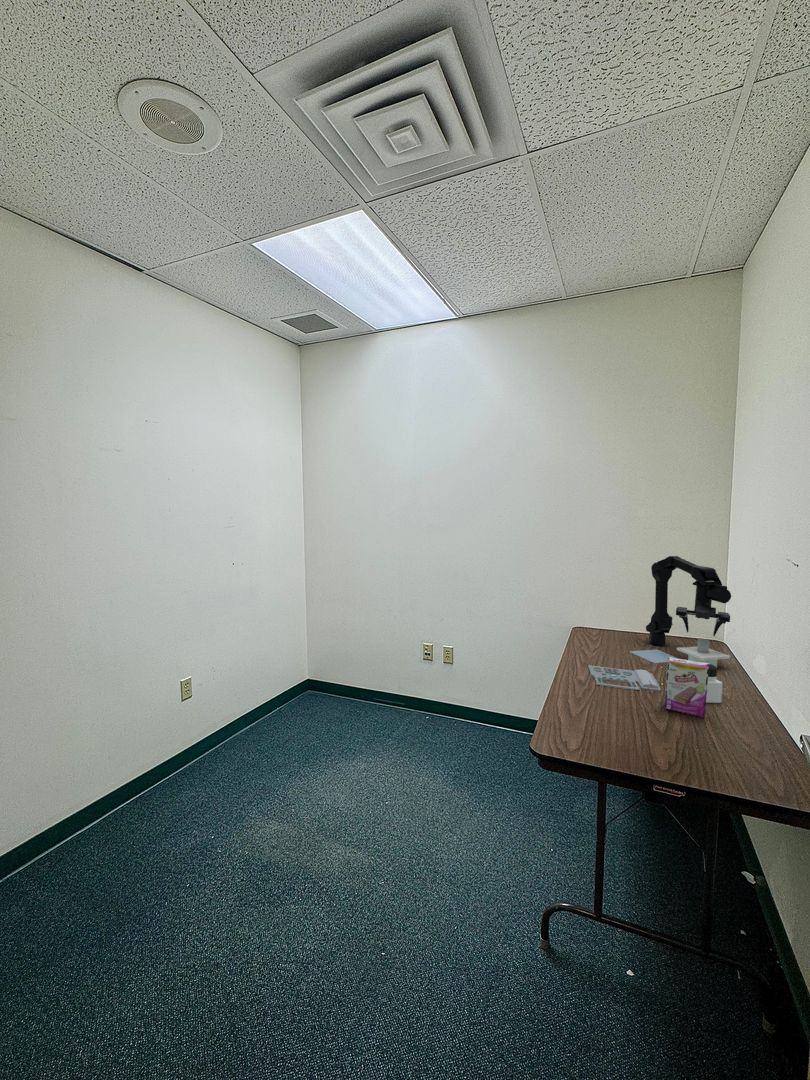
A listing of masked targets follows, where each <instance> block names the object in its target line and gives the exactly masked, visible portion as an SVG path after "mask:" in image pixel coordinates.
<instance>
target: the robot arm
mask: <svg viewBox="0 0 810 1080" xmlns="http://www.w3.org/2000/svg"><path fill="white" fill-rule="evenodd" d="M676 569H679V570H681V571H683V572H685V573H688V574H690V576H691V578H693V580H695V581H694V582H692V585H693V586H695V598H694V599H695V600H694V609H692V610H690V609H688V607H684V606H677V607H676V610H675V616H679V618H680V619H682V621H683V622H684V627H685V629H686V633H689V629H690V628H689V616H690V615H691V616H695V618H697V619H704V620H710V619H711V618H713V619H715V623H714V624H715V625H714V628H713V635H712V636H713V637H716V634H717V632H718V631H719V629H720V628H721V626H722V625H723V624H726V623H730V622H731V615H730V613H729V612H725V611H724V612H723V611H718V612H716V611H717V607H712V601H713V602H718V603H721V604H727V603H729V602H730V600H731V599H732V594H731V591H730V590H729V589H728V586H726V585H723V583H722V580H721V579H720V577H719V575H718V573H717V570H716V569H715V568H714V567H708V566H703V565H697V564H695V563H693V562H691V561H688V560H686V559H684V558H682V557H680V556H678V555H669V556H667V557H665V558H663V559H660V560H657V562H653V563H652V565H651V575H652V577H653V579H654V581H655V592H654V593H655V595H654V596H655V597H654V598H655V602H654V603H655V604H654V606H655V607H654V610H655V611H654V612H653V614H652V615H651V617H650V622H649V623H647V625H646V626H645V631H646V632H648V633H649V637H648V638H649V639H648V641H646V643H647V644H649V645H652V646H654V647H667V646H668V644H666V634H669V633H670V630H671V629H672V626H674V625H673V616H672V615H670V614H669V613H668V598H669V597H668V595H669V594H668V592H669V591H668V587H669V581H670V579H671V578H672V576H673V571H675V570H676ZM688 615H689V616H688Z"/></svg>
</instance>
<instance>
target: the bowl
mask: <svg viewBox="0 0 810 1080" xmlns="http://www.w3.org/2000/svg"><path fill="white" fill-rule="evenodd" d="M687 660H690V661H696V662H702V663H709V664H712V665H714V666H716V668H717V669H718V660H719V659H716V660H701V659H698V658H696V657H693V656H691V655H688V654H687Z"/></svg>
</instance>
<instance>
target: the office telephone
mask: <svg viewBox="0 0 810 1080" xmlns="http://www.w3.org/2000/svg"><path fill="white" fill-rule="evenodd" d="M588 671H589V674H590V676H591V677H592V678H595V679H594V681H595V680H596V681H595V686H596V685H600V686H599V687H602V686H607V687H606V688H610V687H614V688H613V689H618V688H621V689H620V690H626V689H630V690H629V691H634V690H640V691H641V690H645V689H649V690H648V691H652V690H658V691H657V692H661V687H660V685H659V684H658V680H657V679H656V678H655V675H654V674H653V673H652V672H649V671H648V670H645V669H636V670H631V669H622V668H614V667H613V668H612V667H606V666H598V665H597V666H596V665H591V664H588ZM607 680H610V681H609V682H616V681H617V682H616V683H624V682H625V684H629V686H628V685H627V686H626V685H625V686H624V685H619V684H618V685H617V684H612V683H611V684H610V683H605V682H603V681H607ZM636 682H637V683H636ZM638 683H639V684H638ZM630 685H631V686H630ZM641 688H642V689H641Z"/></svg>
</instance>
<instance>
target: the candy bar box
mask: <svg viewBox="0 0 810 1080" xmlns="http://www.w3.org/2000/svg"><path fill="white" fill-rule="evenodd" d="M678 658H679V657H676V658H672V657H668V662H666V663H667V664H666V665H667V666H666V675H665V677H666V678H665V689H664V690H665V691H664V692H665V693H664V708H665V709H664V710H666V709H668V710H667V711H670V710H673V711H672V712H675V711H678V712H677V713H679V712H682V713H681V714H684V713H686V715H689V714H691V715H690V716H693V715H694V717H698V716H699V718H703V719H704V718H705V717H706V708H707V707H706V706H707V703H706V696H707V683H708V671H709V667H708V664H707V663H702V662H696V661H690V660H688V659H685V658H683V659H682V658H679V659H678Z"/></svg>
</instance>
